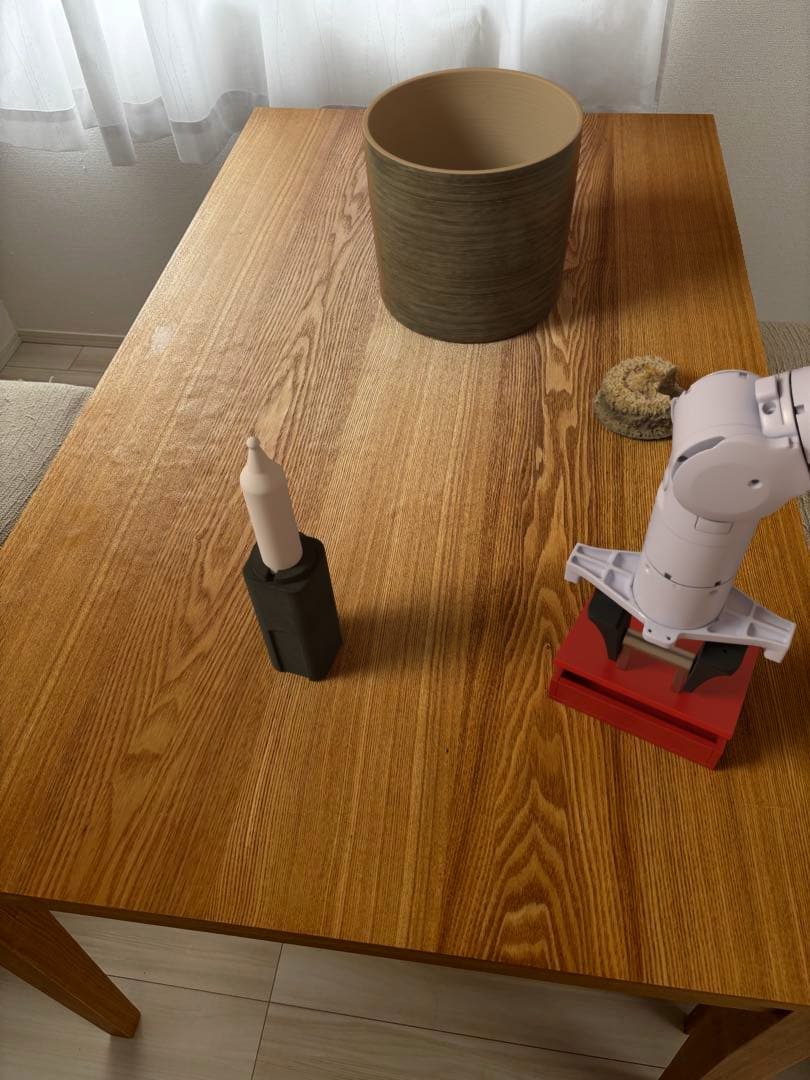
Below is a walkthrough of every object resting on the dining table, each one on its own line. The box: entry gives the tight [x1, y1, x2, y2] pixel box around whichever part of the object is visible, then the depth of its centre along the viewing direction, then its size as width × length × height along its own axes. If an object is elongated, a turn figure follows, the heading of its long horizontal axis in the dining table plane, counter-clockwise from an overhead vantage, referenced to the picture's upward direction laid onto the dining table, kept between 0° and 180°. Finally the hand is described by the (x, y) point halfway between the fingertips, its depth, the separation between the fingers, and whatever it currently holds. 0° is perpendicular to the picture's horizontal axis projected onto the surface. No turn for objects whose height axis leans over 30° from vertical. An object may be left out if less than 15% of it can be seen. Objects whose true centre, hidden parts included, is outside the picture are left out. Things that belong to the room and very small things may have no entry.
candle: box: [239, 435, 344, 682], centre depth 63 cm, size 5×5×25 cm
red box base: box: [547, 666, 728, 771], centre depth 68 cm, size 10×13×3 cm
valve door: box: [552, 587, 761, 741], centre depth 64 cm, size 10×13×4 cm
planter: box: [361, 66, 585, 344], centre depth 95 cm, size 22×22×20 cm
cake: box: [592, 354, 686, 440], centre depth 87 cm, size 10×10×5 cm
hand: (652, 664), depth 63 cm, fingers closed on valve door, 5 cm apart
